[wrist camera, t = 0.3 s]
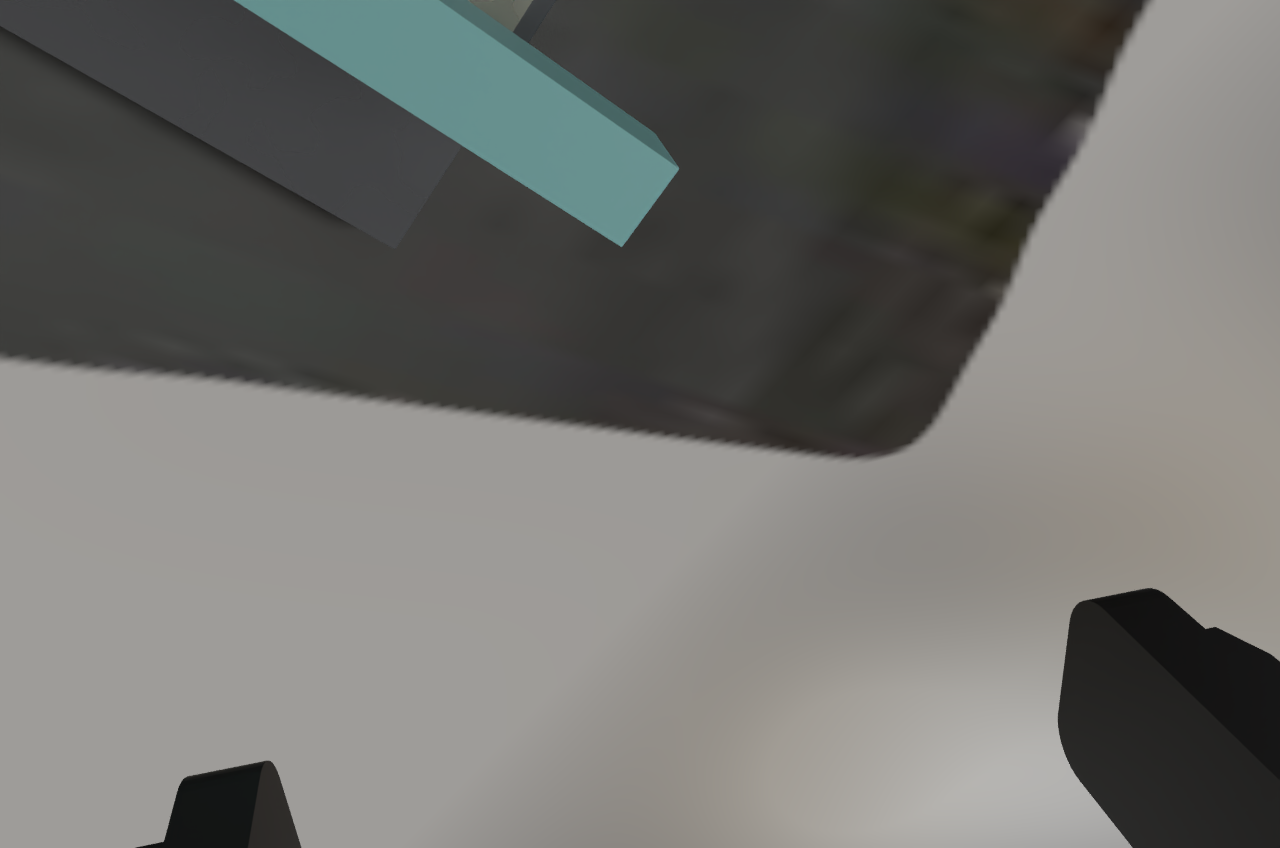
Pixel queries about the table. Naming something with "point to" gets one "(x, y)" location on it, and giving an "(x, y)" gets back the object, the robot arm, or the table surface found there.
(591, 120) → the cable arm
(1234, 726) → the robot arm
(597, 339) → the table surface
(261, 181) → the table surface
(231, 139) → the plate
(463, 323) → the table surface
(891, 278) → the table surface
